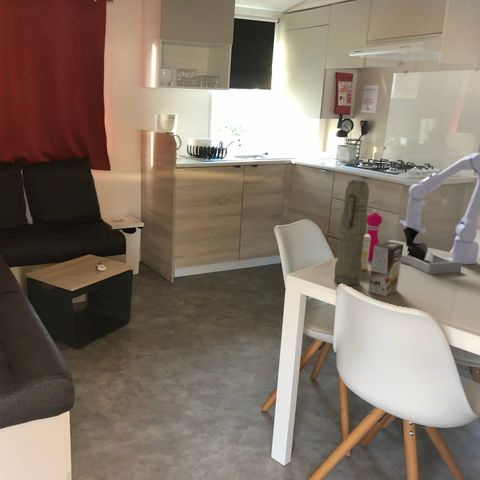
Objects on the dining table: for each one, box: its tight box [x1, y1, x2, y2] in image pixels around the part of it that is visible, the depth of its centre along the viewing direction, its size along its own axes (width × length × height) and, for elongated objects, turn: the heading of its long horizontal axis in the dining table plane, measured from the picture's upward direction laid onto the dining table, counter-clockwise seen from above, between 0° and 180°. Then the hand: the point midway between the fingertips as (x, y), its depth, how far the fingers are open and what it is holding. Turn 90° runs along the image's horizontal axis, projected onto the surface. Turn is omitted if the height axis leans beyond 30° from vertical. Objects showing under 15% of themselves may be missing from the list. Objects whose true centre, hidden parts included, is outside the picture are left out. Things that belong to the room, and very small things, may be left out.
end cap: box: [406, 242, 429, 261], centre depth 217 cm, size 10×7×7 cm
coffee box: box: [367, 240, 404, 297], centre depth 178 cm, size 9×6×16 cm
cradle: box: [401, 251, 463, 275], centre depth 211 cm, size 18×17×4 cm
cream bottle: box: [361, 233, 371, 271], centre depth 201 cm, size 8×5×13 cm, turn 84°
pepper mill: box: [366, 209, 383, 261], centre depth 215 cm, size 7×7×20 cm
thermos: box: [333, 179, 370, 287], centre depth 182 cm, size 9×12×35 cm
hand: (409, 246), depth 223 cm, fingers closed, pressing on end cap
